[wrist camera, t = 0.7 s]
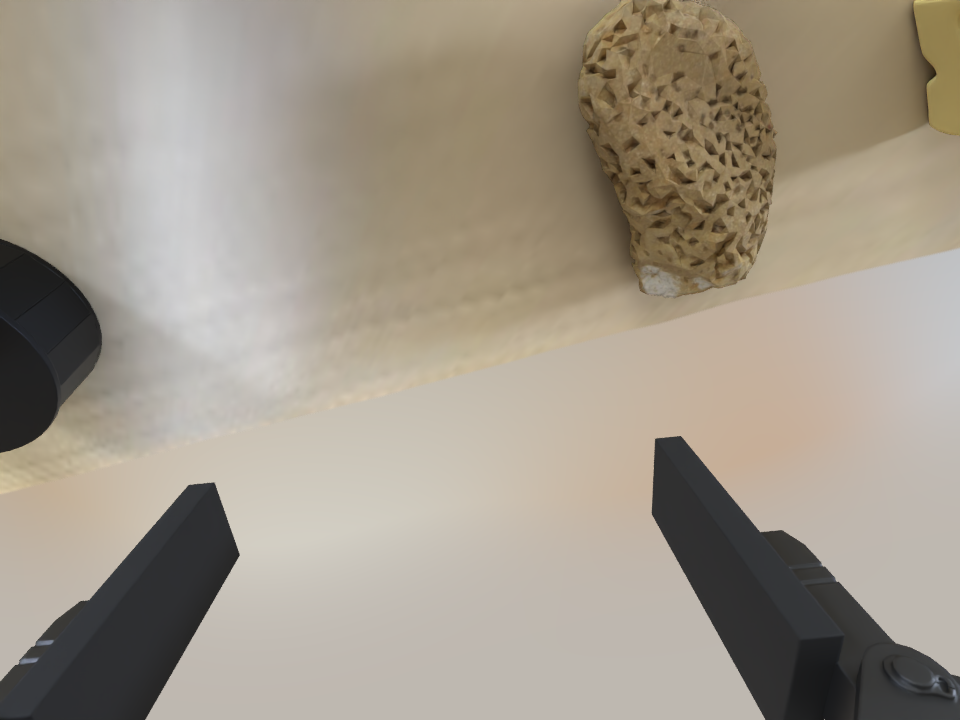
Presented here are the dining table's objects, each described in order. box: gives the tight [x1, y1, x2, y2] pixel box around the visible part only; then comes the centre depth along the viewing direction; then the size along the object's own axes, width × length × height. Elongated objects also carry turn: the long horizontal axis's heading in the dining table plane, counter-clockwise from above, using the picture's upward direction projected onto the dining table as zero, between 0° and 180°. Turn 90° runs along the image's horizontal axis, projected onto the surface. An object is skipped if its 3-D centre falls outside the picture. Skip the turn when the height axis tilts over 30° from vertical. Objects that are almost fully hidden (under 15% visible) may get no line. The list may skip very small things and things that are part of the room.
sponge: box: [578, 0, 777, 298], centre depth 33 cm, size 13×8×20 cm
